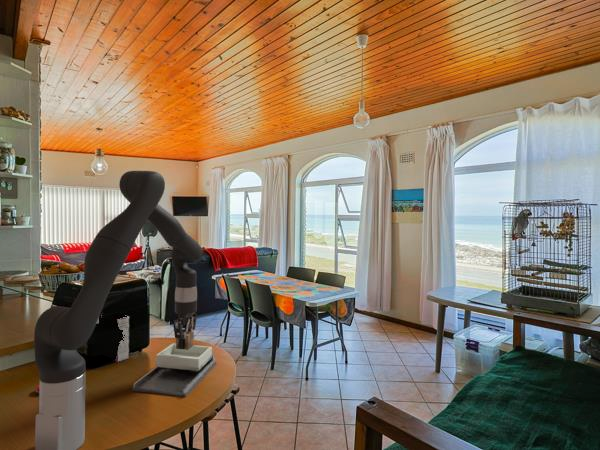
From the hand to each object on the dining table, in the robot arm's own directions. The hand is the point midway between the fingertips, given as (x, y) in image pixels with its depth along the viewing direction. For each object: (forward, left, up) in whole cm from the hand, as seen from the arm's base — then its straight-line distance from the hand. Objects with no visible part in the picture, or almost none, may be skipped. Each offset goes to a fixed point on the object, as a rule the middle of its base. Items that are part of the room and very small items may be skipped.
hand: (185, 345), depth 131 cm
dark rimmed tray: (-5, 0, -9) cm, 10 cm away
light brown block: (0, 0, 0) cm, 0 cm away
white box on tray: (0, 0, -7) cm, 7 cm away
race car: (-20, +33, -9) cm, 39 cm away
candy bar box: (+5, +31, -9) cm, 33 cm away
